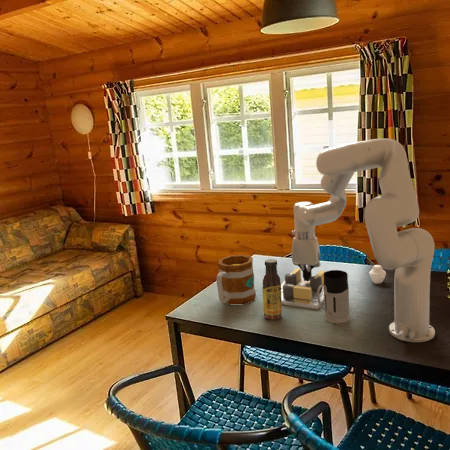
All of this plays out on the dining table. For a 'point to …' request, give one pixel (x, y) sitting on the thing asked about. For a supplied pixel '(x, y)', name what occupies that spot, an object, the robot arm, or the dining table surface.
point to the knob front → (296, 292)
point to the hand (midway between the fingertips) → (307, 279)
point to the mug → (236, 279)
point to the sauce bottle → (272, 291)
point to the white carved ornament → (377, 274)
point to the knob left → (293, 277)
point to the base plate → (303, 302)
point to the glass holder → (335, 296)
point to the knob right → (317, 281)
